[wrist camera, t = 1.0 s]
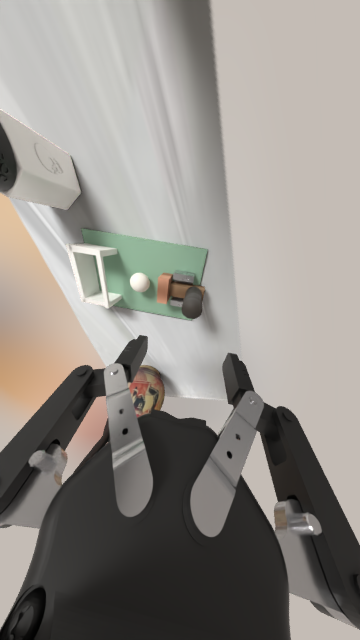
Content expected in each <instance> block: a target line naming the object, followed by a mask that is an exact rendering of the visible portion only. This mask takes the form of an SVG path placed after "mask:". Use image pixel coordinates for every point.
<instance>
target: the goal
mask: <svg viewBox="0 0 360 640" xmlns="http://www.w3.org/2000/svg"><path fill="white" fill-rule="evenodd" d="M66 247H67V251H68V254H69V258H70V262H71V265H72V269H73V273H74V276H75V280H76V283H77V287H78V291H79V294H80V298H81V301H82V302H85V303H91V304H96V305H101V306H105V308H110V307H111V306H113V305H114V304H115V303H117V302H118V301H119V300H121V299H122V295H121V294H115V293H110V292H108V288H107V282H106V275H105V269H104V262H103V257H104V256H109V255H115V254H118V253H117V249H116V248H111V247H105V246H99V245H93V244H87V243H82V244H66ZM93 255H96V259H97V265H98V270H99V276H100V282H101V287H102V291H100V289H99V283H98V278H97V273H96V267H95V262H94V257H93Z"/></svg>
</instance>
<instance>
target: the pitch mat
mask: <svg viewBox="0 0 360 640" xmlns="http://www.w3.org/2000/svg"><path fill="white" fill-rule="evenodd" d="M81 230H82V235H83V240H84V243H87V244H93V245H99V246H105V247H111V248H116V249H117V253H118V254H115V255H109V256H104V257H103V262H104V269H105V275H106V282H107V288H108V292H110V293H115V294H121V295H122V299H121V300H119V301H118V302H117V303H115V304H114V305H113V306H118V307H123V308H128V309H134V310H139V311H144V312H150V313H155V314H160V315H166V316H171V317H176V318H182V319H187V320H192V319H189V318H186V317H185V316H184V315H183V314H182V310H181V309H182V307H178V306H172V305H170V301H171V298H172V296H170V298H169V300H168V302H167V304H163V303H157V289H158V277H159V276H160V275H161V274H163V273H169V274H174V272H175V271H176V270H180V271H186V272H191V273H195V276H194V281H193V285H198V286H200V282H201V277H202V273H203V268H204V264H205V259H206V255H207V250H208V249H202V248H196V247H190V246H184V245H178V244H172V243H166V242H160V241H154V240H148V239H143V238H137V237H131V236H125V235H119V234H113V233H107V232H101V231H95V230H89V229H83V228H81ZM93 257H94V262H95V267H96V273H97V278H98V283H99V289H100V291H102V287H101V282H100V276H99V270H98V265H97V259H96V255H93ZM135 273H143V274H145V275H146V276H147V277H148V278H149V281H150V286H149V288H148V289H147V290H146V291H145V292H137V291H135V290H133V288H132V287H131V285H130V279H131V277H132V275H134V274H135ZM172 281H174V279H173V278H172Z"/></svg>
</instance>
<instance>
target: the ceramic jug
mask: <svg viewBox="0 0 360 640" xmlns="http://www.w3.org/2000/svg"><path fill="white" fill-rule="evenodd" d="M128 388H129V389H130V393H131V397H132V401H133V404H134V408H135V412H136V416H137V418H138V417H139V416H141V415H144V414H147V413H151V411H152V409H155V410H159V411H160V409H161V407H162V404H163V401H164V396H165V390H164V384H163V382H162V380H161V378H160V373H159V371H158V370H157V369H155V368H153V367H152V366H148V365H142V366H140V368H139V370H138V372H137V374H136V376H135V378H134V380H133V382H132V383H129V382H128ZM110 441H111V440H110V431H109V422H108V419H107V422H106V425H105V429H104V433H103V436H102V437H101V439H100V440H99V441H98V442H97V444H95V446H94V447H93V448H92V450H91V451H90V452H89V454H88V455H87V456H86V457H85V458H84V459H83V461H82V462H81V463H80V465H79V466H78V467H77V469H76V470H75V471H74V472H76V471H77V470H78V469H79V468H80V467H81V466H82V465H84V464H85V463H86V462H87V461H88V460H89V459H90V458H91V457H93V456H94V455H95V454H96V453H97V452H98V451H99V450H101V449H102V448H103V447H104V446H105V445H106V443H107V442H110Z"/></svg>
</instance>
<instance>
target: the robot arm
mask: <svg viewBox="0 0 360 640" xmlns="http://www.w3.org/2000/svg"><path fill="white" fill-rule="evenodd" d="M147 347H148V337H147V336H142V335H139V337H138V338H137V340H135V339H133V340H131V341H130V342H129V343H128V344H127V346H126V347H125V349H124V350H123V351H122V353H121V354H120V356H119V357H118V359H117V360H116V361H115V363H114V364H111V365H109V366H108V367H106V368H105V369H95V370H93V369H92V367H91V366H88V365H84V366H80V367H78V368H76V369H75V370H73V371H72V372H71V374H70V375H69V376H68V377H67V378H66V379H65V380H64V381H63V383H62V384H61V385H60V386H59V387H58V388H57V389H56V391H55V392H54V393H53V394H52V395H51V396H50V397H49V399H48V400H47V401H46V402H45V403H44V404H43V405H42V406H41V407H40V409H39V410H38V411H37V412H36V413H35V414H34V415H33V416H32V418H31V419H30V420H29V421H28V422H27V423H26V424H25V425H24V427H23V428H22V429H21V430H20V431H19V432H18V433H17V435H16V436H15V437H14V438H13V439H12V440H11V441H10V442H9V444H8V445H7V446H6V447H5V448H4V449H3V450H2V451H1V453H0V528H7V527H9V526H12V525H17V526H24V527H32V528H40V530H39V535H38V539H37V543H36V547H35V551H34V554H33V558H32V561H31V564H30V566H29V569H28V572H27V575H26V577H25V580H24V582H23V585H22V587H21V590H20V592H19V594H18V597H17V598H16V601H15V603H14V605H13V607H12V609H11V611H10V613H9V614H8V617H7V618H6V620H5V622H4V624H3V626H2V627H1V629H0V640H291V638H290V626H289V593H292V594H294V595H297V596H299V597H302V598H305V599H307V600H310V602H311V603H312V604H313V605H314V607H316V608H317V609H318V610H319V611H320V612H322V613H324V614H326V615H328V616H331V617H333V618H335V619H337V620H340V621H342V622H344V623H346V624H348V625H351V626H353V627H355V628H357V629H359V630H360V545H359V543H358V541H357V539H356V537H355V535H354V533H353V531H352V529H351V527H350V525H349V522H348V520H347V518H346V516H345V514H344V512H343V510H342V508H341V506H340V504H339V502H338V500H337V498H336V496H335V494H334V492H333V490H332V488H331V486H330V484H329V482H328V480H327V478H326V476H325V474H324V472H323V470H322V468H321V466H320V464H319V462H318V460H317V458H316V456H315V454H314V452H313V450H312V448H311V446H310V443H309V442H308V439H307V437H306V435H305V434H304V431H303V429H302V427H301V426H300V423H299V421H298V419H297V418H296V416H295V415H294V414H293V413H292V412H291V411H290V410H289V409H287V408H285V407H282V406H279V407H277V408H274V407H272V406H270V405H268V404H266V403H264V402H263V400H262V399H261V397H260V396H259V395H258V394H257V393H255V391H254V388H253V385H252V382H251V380H250V377H249V374H248V372H247V369H246V366H245V365H244V363H243V362H242V361H239V359H238V356H237V354H232V353H228V354H227V356H226V358H225V361H224V363H223V367H222V369H223V375H224V381H225V387H226V393H227V399H228V404H232V405H233V406H234V409H233V410H232V412H231V414H230V416H229V417H228V419H227V420H226V422H225V424H224V425H223V427H222V429H221V430H220V432H219V434H218V435H217V434H216V433H215V432H214V431H213V430H212V429H211V428H209V427H208V426H206V421H205V420H201V419H196V418H185V419H177V418H175V417H174V416H172V415H170V414H168V413H166V412H164V411H159V410H155V409H152V411H151V413H147V414H144V415H141V416H139V417H138V418H137V416H136V412H135V408H134V404H133V401H132V397H131V393H130V389H129V388H128V382H129V383H132V382H133V380H134V378H135V376H136V374H137V372H138V370H139V368H140V365H141V363H142V361H143V359H144V357H145V355H146V352H147ZM100 396H106V404H107V413H108V422H109V431H110V440H111V441H110V442H108V443H107V444H106V445H105V446H104V447H103V448H102V449H101V450H99V451H98V452H97V453H96V454H95V455H94V456H93V457H91V458H90V459H89V460H88V461H87V462H86V463H85V464H84V465H82V466H81V467H80V468H79V469H78V470H77V471H76V472H74V473H73V474H72V475H71V476H70V477H69V478H68V479H67V480H66V481H65V483H64V484H63V485H62V482H61V479H62V474H63V471H64V469H65V466H66V463H67V454H66V452H65V449H66V448H67V446H68V444H69V442H70V441H71V439H72V437H73V435H74V434H75V432H76V431H77V429H78V427H79V426H80V424H81V422H82V421H83V419H84V417H85V415H86V413H87V412H88V410H89V409H90V407H91V405H92V404H93V402H94V400H95V399H96V397H100ZM257 431H259V432H260V435H261V439H262V443H263V446H264V450H265V454H266V458H267V461H268V466H269V469H270V473H271V476H272V481H273V484H274V488H275V492H276V496H277V500H278V502H277V503H276V505H275V508H274V517H275V525H276V527H275V532H274V530H273V528H272V526H271V524H270V523H269V521H268V519H267V517H266V516H265V514H264V512H263V511H262V509H261V507H260V505H259V504H258V502H257V500H256V499H255V497H254V495H253V494H252V492H251V490H250V489H249V487H248V485H247V483H246V482H245V480H244V478H243V477H242V475H241V472H242V469H243V467H244V464H245V461H246V459H247V456H248V454H249V451H250V448H251V445H252V443H253V440H254V438H255V435H256V432H257Z"/></svg>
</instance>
